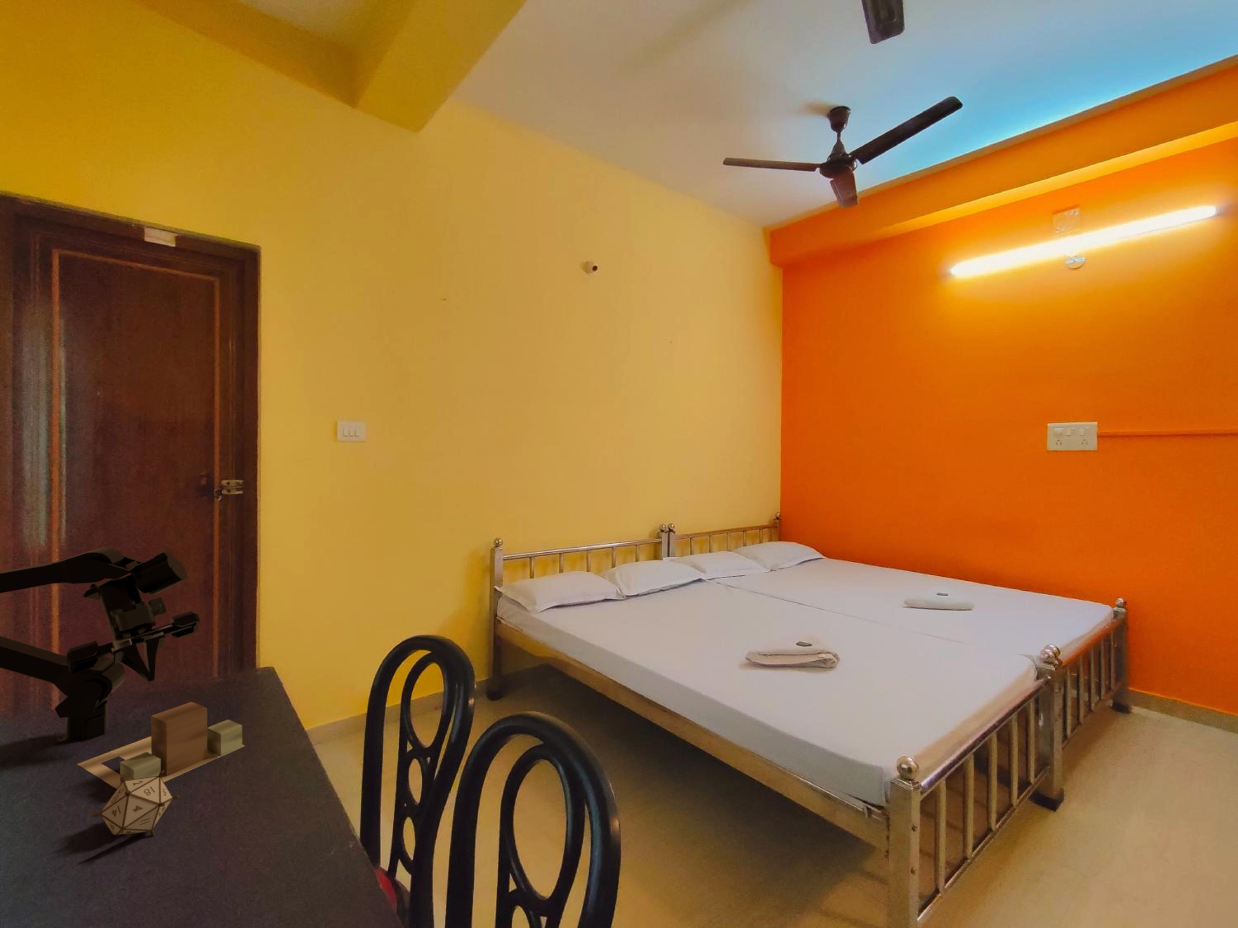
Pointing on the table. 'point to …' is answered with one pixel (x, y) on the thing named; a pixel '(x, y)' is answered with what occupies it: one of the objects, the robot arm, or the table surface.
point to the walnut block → (179, 737)
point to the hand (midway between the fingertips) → (151, 681)
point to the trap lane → (129, 754)
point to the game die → (136, 805)
